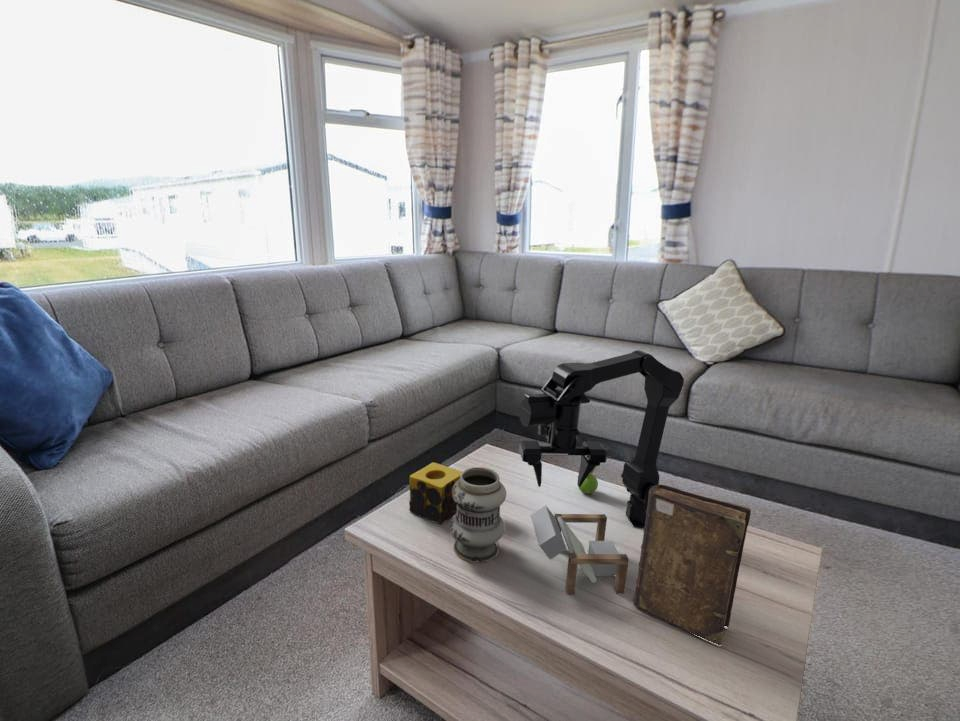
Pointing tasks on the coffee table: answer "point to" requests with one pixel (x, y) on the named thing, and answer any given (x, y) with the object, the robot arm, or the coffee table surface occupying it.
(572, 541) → the trapdoor
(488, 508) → the apothecary jar
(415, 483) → the candle
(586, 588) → the coffee table surface
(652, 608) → the book
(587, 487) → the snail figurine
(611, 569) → the slate grey block
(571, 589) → the walnut frame
